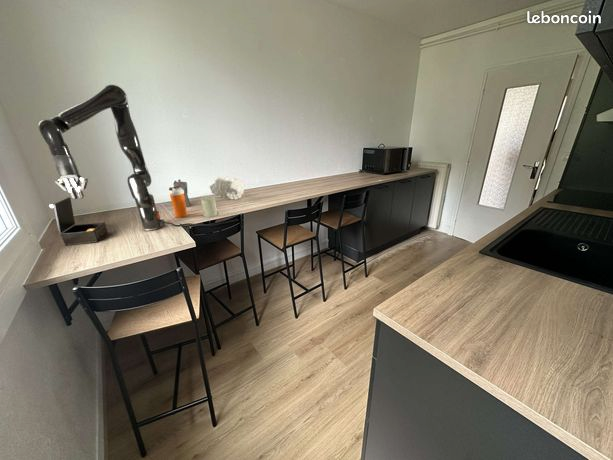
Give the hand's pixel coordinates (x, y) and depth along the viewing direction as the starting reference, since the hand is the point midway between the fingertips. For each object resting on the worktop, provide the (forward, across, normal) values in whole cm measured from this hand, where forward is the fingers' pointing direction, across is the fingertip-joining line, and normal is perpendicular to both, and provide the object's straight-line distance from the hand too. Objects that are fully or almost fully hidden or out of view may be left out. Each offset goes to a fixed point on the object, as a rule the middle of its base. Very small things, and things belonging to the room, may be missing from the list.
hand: (78, 198), depth 129 cm
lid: (+8, -8, 0) cm, 12 cm away
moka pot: (+23, +37, +50) cm, 66 cm away
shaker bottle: (+23, +40, +26) cm, 53 cm away
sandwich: (+22, 0, 0) cm, 22 cm away
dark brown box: (+23, -3, 0) cm, 23 cm away
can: (+23, +59, +23) cm, 67 cm away
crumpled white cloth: (+23, +70, +61) cm, 96 cm away
